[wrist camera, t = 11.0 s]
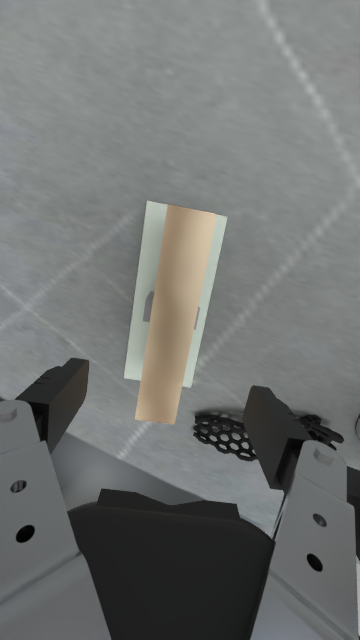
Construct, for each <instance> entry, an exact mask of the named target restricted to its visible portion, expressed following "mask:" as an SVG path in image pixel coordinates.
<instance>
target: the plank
mask: <svg viewBox="0 0 360 640" xmlns="http://www.w3.org/2000/svg"><path fill="white" fill-rule="evenodd" d="M216 218H217V214H214V213H209V212H204V211H199V210H194V209H189V208H184V207H180V206H175V205H170V204H168V206H167V212H166V219H165V225H164V232H163V239H162V245H161V252H160V258H159V265H158V271H157V278H156V284H155V291H154V297H153V304H152V311H151V317H150V324H149V330H148V337H147V343H146V350H145V356H144V363H143V369H142V376H141V383H140V389H139V396H138V402H137V409H136V415H135V419H136V420H144V421H151V422H159V423H167V424H175V419H176V414H177V409H178V404H179V399H180V394H181V389H182V385H183V380H184V375H185V370H186V365H187V360H188V355H189V350H190V345H191V340H192V335H193V331H194V326H195V321H196V316H197V311H198V306H199V301H200V296H201V291H202V286H203V282H204V277H205V272H206V267H207V262H208V257H209V252H210V247H211V242H212V237H213V232H214V228H215V223H216Z"/></svg>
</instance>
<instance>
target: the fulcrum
mask: <svg viewBox="0 0 360 640" xmlns="http://www.w3.org/2000/svg"><path fill="white" fill-rule="evenodd" d="M167 206H168V205H166V204H161V203H156V202H151V201H147V205H146V213H145V221H144V228H143V236H142V243H141V251H140V259H139V266H138V274H137V281H136V289H135V296H134V304H133V312H132V319H131V327H130V334H129V342H128V350H127V357H126V365H125V372H124V378H127V379H134V380H141V376H142V369H143V363H144V356H145V350H146V343H147V337H148V330H149V324H150V317H151V311H152V304H153V297H154V291H155V284H156V278H157V271H158V265H159V258H160V252H161V245H162V239H163V232H164V225H165V219H166V212H167ZM226 222H227V217H225V216H220V215H217V218H216V223H215V228H214V232H213V237H212V242H211V247H210V252H209V257H208V262H207V267H206V272H205V277H204V282H203V286H202V291H201V296H200V301H199V306H198V311H197V316H196V321H195V326H194V331H193V335H192V340H191V345H190V350H189V355H188V360H187V365H186V370H185V375H184V380H183V385H182V386H183V387H190V388H191V385H192V380H193V376H194V371H195V366H196V362H197V357H198V352H199V348H200V343H201V338H202V334H203V329H204V324H205V320H206V315H207V310H208V306H209V301H210V296H211V292H212V287H213V282H214V278H215V273H216V269H217V264H218V259H219V255H220V250H221V245H222V241H223V236H224V231H225V227H226Z"/></svg>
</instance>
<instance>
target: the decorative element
mask: <svg viewBox="0 0 360 640" xmlns="http://www.w3.org/2000/svg"><path fill="white" fill-rule="evenodd" d="M195 419H196V420H195V423H196V424H198V425H199V426H197V427H194V430H196V431H197V433H196V432H194V434H193V436H195V437H196V438H197V439H198V440H199V441H201V442H202V443H204V444H211V445H213V446H215V447H216V449H217V450H218V451H219V452H222V453H224V454H228V453H233V454H236V456H237V457H238V458H239V459H241V460H245V461H253V460H255V459H258V458H257V455H255V454H254V453H253V452H252V450H253V449H254V448H253V446H252V443H251V441H250V438H249V437H248V438H245V437H244V435H243V433H245V432H247V431H246V429H245V426H244V423H240V422H237V421H234V420H232V419H229V418H224V417H214V416H209V415H195ZM213 421H218V422H219V423H216V422H213ZM202 422H208V423H209V425H203V424H202ZM298 422H300V423H301V424H302V425H304V426H305V427H304V428H305V429H306V431H307V432H308V433H309V435H310V436H311V437H312V439H313V440H314V441H316V440H318V442H320V443H323V444H325V445H327V446H329V447H330V448H332V449H333V450H335V451H336V450H337V449H336V448H335V447H334V446H333V445H332V444H331V443H330V442H331V441H332V440H333V441H335V442H338V443H343V441H344V439H343V437H342V436H341V435H340V434H338V433H336V432H334V431H332V430H331V429H329V428H326V427H324V426H321V425H320V423H321V419H320V418H319V417H318V416H316V415H308V416H307V417H304V418H301V419H298ZM223 425H226V426H229V427H230V430H229V431H226V430H223V428H222V426H223ZM233 425H236V426H239V427H241V429H240V430H239V429H237V428H235V427H234V426H233ZM213 426H214V427H218V428H219V430H220V431H219V432H217V433H216V432H213V431H212V430H211V428H212V427H213ZM202 428H203V429H207V430H208V433H206V434H205V433H203V432H201V431H200V429H202ZM311 430H312V431H311ZM233 432H235V433H237V434H239V435H240V437H241V439H240V440H235V439H233V437H232V435H231V434H232V433H233ZM222 434H225V435H227V436H228V438H229V440H228V441H223V440H221V438H220V435H222ZM316 434H318V435H319V436H318V435H316ZM211 435H212V436H215V437H216V438H217V440H218V441H216V442H214V441H212V440H211V439H210V438H209V436H211ZM200 436H202V437H204V438H206V440H205V439H203V438H201V437H200ZM243 442H247V443H248V445H249V448H248V449H245V448H243V447H242V445H241V444H242V443H243ZM231 443H234V444H237V445H238V447H239V449H238V450H234V449H232V448H231V447H230V444H231ZM219 444H222V445H225V446H226V448H227V449H226V450H225V449H223V448H220V446H219ZM242 452H243V453H246V454H249V455H250V457H247V456H243V455H241V454H240V453H242Z"/></svg>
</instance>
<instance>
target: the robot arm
mask: <svg viewBox="0 0 360 640" xmlns="http://www.w3.org/2000/svg"><path fill="white" fill-rule="evenodd" d="M88 372H89V361H88V360H85V359H78V358H71V359H70V360H69V361H68V362H67V363H66V364H65V365H63V366H62V367H60V366H57V367H54V368H52V369H50V370H47V371H46V372H45V373H44V374H43V375H42V376H40V378H38V379H37V380H36V381H35V382H34V384H31V385H30V386H29V387H28V388H27V389H26V390H25V391H24V392H23V393H21V394H20V395H19V396H18V397H17V398H16V399H15V400H7V401H2V402H0V640H360V636H359V635H358V607H357V606H358V604H357V573H356V555H357V557H358V559H359V561H360V471H359V470H357V469H354V468H351V467H348V466H347V465H346V462H345V461H344V459H343V458H342V457H341V456H340V455H339V454H338V453H337V452H336V451H335V450H333V449H332V448H330V447H329V446H327V445H325V444H323V443H320V442H318V441H314V440H313V439H312V437H311V436H310V435H309V433H308V432H307V431H306V429H305V428H304V427H303V426H302V424H301V423H300V422H298V419H297V418H296V416H295V415H294V414H293V412H292V411H291V410H290V409H289V407H288V406H287V405H285V404H284V403H283V402H282V401H280V400H279V399H277V398H276V397H275V395H274V394H273V392H272V391H271V390H270V388H268V387H261V386H252V387H251V389H250V393H249V396H248V400H247V403H246V407H245V410H244V415H243V422H244V426H245V429H246V431H247V434H248V436H249V438H250V441H251V443H252V446H253V448H254V450H255V453H256V455H257V458H258V460H259V462H260V465H261V467H262V470H263V472H264V474H265V477H266V479H267V482H268V484H269V486H270V489H278V490H283V491H284V496H283V499H282V502H281V505H280V508H279V512H278V515H277V518H276V521H275V524H274V528H273V531H272V534H271V537H269V536H268V535H267V534H265V532H263V531H262V530H261V529H259V528H258V527H256V526H255V525H253V524H252V523H250V522H248V521H246V520H244V519H242V518H240V516H239V512H238V508H237V504H232V503H224V502H215V501H206V500H203V501H197V502H191V503H185V504H179V505H167V504H164V503H162V502H159V501H156V500H154V499H151V498H149V497H146V496H144V495H141V494H138V493H136V492H127V491H119V490H110V489H101V492H100V495H99V498H98V501H97V502H91V503H87V504H84V505H81V506H78V507H76V508H73V509H71V510H69V511H66V507H65V504H64V500H63V497H62V494H61V490H60V487H59V484H58V480H57V477H56V473H55V470H54V467H53V463H52V460H51V457H50V454H51V453H52V452H53V450H54V448H55V447H56V445H57V444H58V442H59V440H60V439H61V437H62V435H63V434H64V432H65V431H66V429H67V428H68V426H69V424H70V423H71V421H72V420H73V418H74V416H75V415H76V413H77V412H78V410H79V408H80V407H81V405H82V404H83V402H84V399H85V396H86V392H87V383H88ZM356 432H357V436H358V438H359V439H360V418H359V419H358V422H357V425H356Z"/></svg>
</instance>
